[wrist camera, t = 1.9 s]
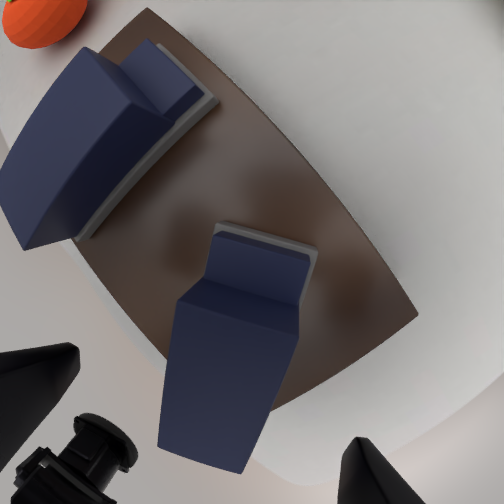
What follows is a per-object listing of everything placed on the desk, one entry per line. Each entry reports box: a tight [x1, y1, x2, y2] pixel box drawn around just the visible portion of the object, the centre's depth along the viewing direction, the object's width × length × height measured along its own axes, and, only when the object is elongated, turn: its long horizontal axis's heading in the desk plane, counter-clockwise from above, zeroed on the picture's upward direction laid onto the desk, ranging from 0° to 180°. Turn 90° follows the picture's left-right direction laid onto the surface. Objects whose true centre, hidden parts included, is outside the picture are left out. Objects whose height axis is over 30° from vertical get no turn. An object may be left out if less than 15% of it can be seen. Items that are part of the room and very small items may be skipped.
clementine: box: [2, 0, 88, 49], centre depth 11 cm, size 8×7×7 cm
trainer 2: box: [157, 221, 318, 474], centre depth 11 cm, size 9×4×4 cm, turn 166°
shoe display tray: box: [71, 8, 418, 412], centre depth 14 cm, size 20×11×4 cm, turn 41°
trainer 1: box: [0, 38, 219, 251], centre depth 10 cm, size 9×4×4 cm, turn 131°
